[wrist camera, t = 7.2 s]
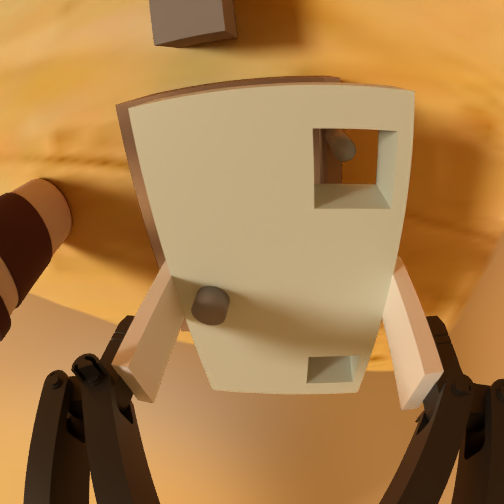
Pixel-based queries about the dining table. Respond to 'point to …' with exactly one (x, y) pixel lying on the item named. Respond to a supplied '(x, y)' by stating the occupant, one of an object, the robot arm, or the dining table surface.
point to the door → (276, 228)
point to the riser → (192, 21)
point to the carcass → (324, 139)
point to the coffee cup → (28, 240)
